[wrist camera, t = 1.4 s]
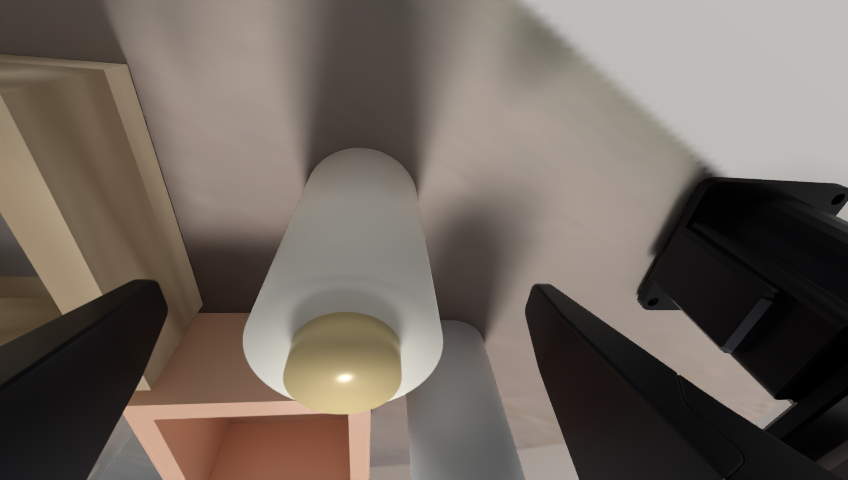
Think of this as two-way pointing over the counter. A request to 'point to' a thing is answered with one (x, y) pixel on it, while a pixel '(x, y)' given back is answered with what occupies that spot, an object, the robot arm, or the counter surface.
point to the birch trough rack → (83, 200)
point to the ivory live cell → (348, 291)
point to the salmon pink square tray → (239, 418)
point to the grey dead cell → (460, 415)
